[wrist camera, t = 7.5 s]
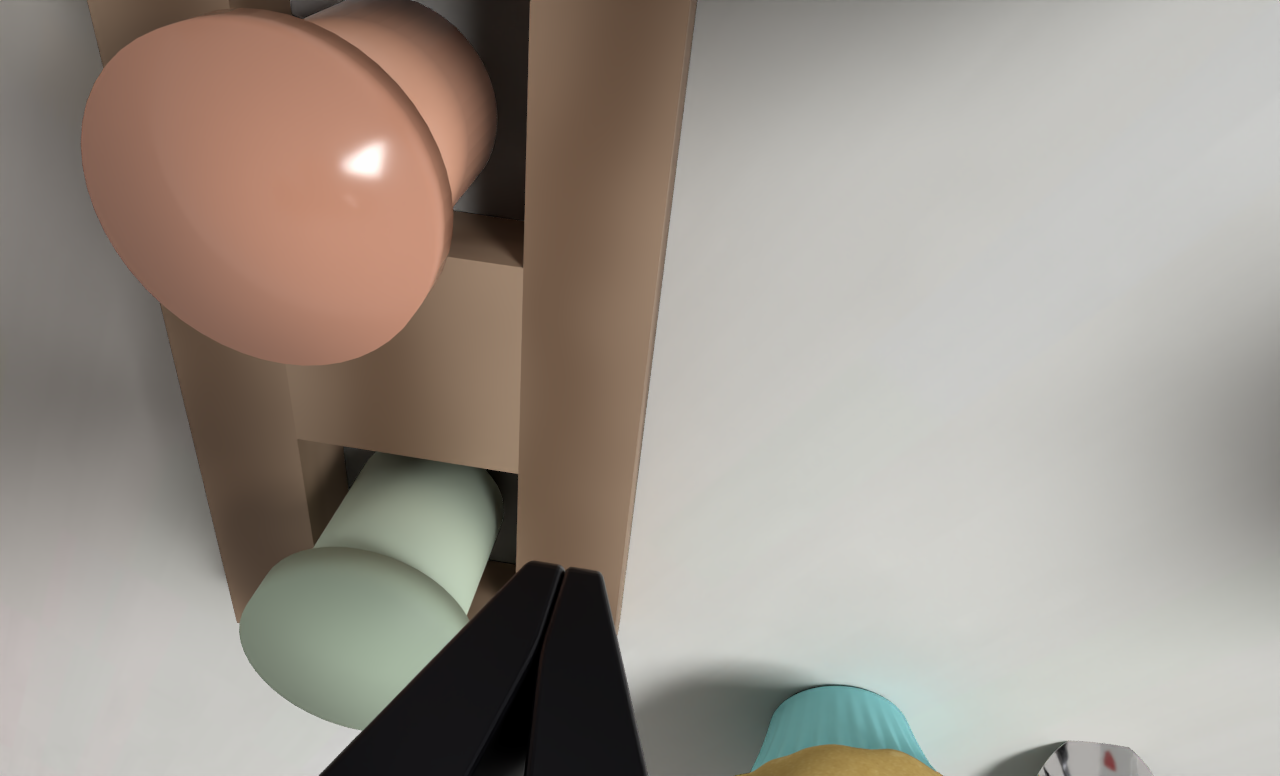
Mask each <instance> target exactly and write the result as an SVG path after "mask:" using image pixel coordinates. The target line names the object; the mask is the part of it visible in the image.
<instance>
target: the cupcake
mask: <svg viewBox="0 0 1280 776" xmlns="http://www.w3.org/2000/svg"><path fill="white" fill-rule="evenodd" d="M735 776H943V775H941V774H940V773H938V772H937V771H936V770H935V769H934V768H933V767H932V766H931V765H930V763H929V762H928V760H927V759H926V757H925V755H924V754H923V752H922V750H921V748H920V747H919V745H918V743H917V741H916V739H915V737H914V735H913V733H912V731H911V729H910V727H909V724H908V722H907V720H906V718H905V717H904V715H903V714H902V712H901V711H900V710H899V709H898V708H897V707H896V706H895V705H894V704H893V703H891V702H890V701H888V700H887V699H885V698H884V697H882V696H880V695H878V694H875V693H873V692H870V691H867V690H864V689H859V688H855V687H848V686H824V687H817V688H812V689H808V690H805V691H802V692H800V693H797V694H795V695H793V696H792V697H790V698H788V699H787V700H786V701H784V702H783V703H782V704H781V705H780V706H779V707H778V708H777V710H776V711H775V712H774V714H773V716H772V719H771V721H770V725H769V728H768V731H767V734H766V737H765V740H764V743H763V745H762V748H761V750H760V752H759V755H758V757H757V759H756V761H755V763H754V766H753V768H752V770H751V772H750V773H746V774H739V775H735Z"/></svg>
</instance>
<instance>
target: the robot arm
mask: <svg viewBox="0 0 1280 776" xmlns="http://www.w3.org/2000/svg"><path fill="white" fill-rule="evenodd" d="M319 776H648V772H647V768H646V763H645V759H644V754H643V750H642V745H641V741H640V736H639V732H638V728H637V723H636V719H635V714H634V710H633V705H632V701H631V696H630V692H629V688H628V683H627V679H626V674H625V670H624V665H623V661H622V657H621V652H620V648H619V643H618V639H617V634H616V630H615V625H614V621H613V617H612V612H611V608H610V603H609V599H608V594H607V590H606V586H605V581H604V577H603V575H602V573H601V572H599V571H596V570H590V569H584V568H578V567H569V568H567V569H566V570H564V568H563V567H562V566H561V565H559V564H553V563H547V562H541V561H535V560H532V561H529V562H527V563H526V564H525V565H524V566H523V567H522V568H521V569H520V570H519V571H518V572H517V573H516V574H515V575H514V576H513V577H512V578H511V579H510V580H509V581H508V582H507V583H506V584H505V585H504V586H503V587H502V588H501V589H500V590H499V591H498V592H497V593H496V594H495V595H494V596H493V597H492V598H491V599H490V600H489V601H488V602H487V603H486V604H485V606H484V607H483V608H482V609H481V610H480V611H479V612H478V613H477V614H476V615H475V616H474V617H473V618H472V619H471V620H470V621H469V622H468V623H467V624H466V625H465V626H464V627H463V628H462V629H461V630H460V631H459V632H458V633H457V634H456V635H455V636H454V637H453V638H452V639H451V640H450V641H449V642H448V643H447V644H446V646H445V647H444V648H443V649H442V650H441V651H440V652H439V653H438V654H437V655H436V656H435V657H434V658H433V659H432V660H431V661H430V662H429V663H428V664H427V665H426V666H425V667H424V668H423V669H422V670H421V671H420V672H419V673H418V674H417V675H416V676H415V677H414V678H413V679H412V680H411V681H410V682H409V683H408V684H407V686H406V687H405V688H404V689H403V690H402V691H401V692H400V693H399V694H398V695H397V696H396V697H395V698H394V699H393V700H392V701H391V702H390V703H389V704H388V705H387V706H386V707H385V708H384V709H383V710H382V711H381V712H380V713H379V714H378V715H377V716H376V717H375V718H374V719H373V720H372V721H371V722H370V723H369V724H368V726H367V727H366V728H365V729H364V730H363V731H362V732H361V733H360V734H359V735H358V736H357V737H356V738H355V739H354V740H353V741H352V742H351V743H350V744H349V745H348V746H347V747H346V748H345V749H344V750H343V751H342V752H341V753H340V754H339V755H338V756H337V757H336V758H335V759H334V760H333V761H332V762H331V763H330V765H329V766H328V767H327V768H326V769H325V770H324V771H323V772H322V773H321V774H320V775H319Z"/></svg>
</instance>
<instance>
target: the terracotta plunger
mask: <svg viewBox="0 0 1280 776" xmlns="http://www.w3.org/2000/svg"><path fill="white" fill-rule="evenodd" d="M497 121H498V118H497V105H496V99H495V94H494V90H493V87H492V83H491V80H490V77H489V75H488V73H487V71H486V68H485V66H484V64H483V62H482V61H481V59H480V57H479V55H478V54H477V52H476V51H475V49H474V48H473V47H472V45H471V44H470V43H469V41H468V40H467V39H466V38H465V37H464V35H463V34H462V33H461V32H460V31H459V30H458V29H457V28H456V27H455V26H454V25H452V24H451V23H450V22H449V21H448V20H446V19H445V18H444V17H442V16H441V15H439V14H438V13H436V12H435V11H433V10H432V9H430V8H428V7H426V6H424V5H422V4H420V3H418V2H415V1H412V0H345V1H343V2H340V3H338V4H336V5H334V6H331V7H329V8H327V9H324V10H322V11H320V12H317V13H315V14H313V15H310V16H308V17H306V18H304V19H301V18H298V17H295V16H292V15H289V14H285V13H280V12H275V11H270V10H265V9H252V8H232V9H221V10H215V11H211V12H207V13H203V14H199V15H196V16H193V17H190V18H187V19H184V20H181V21H178V22H176V23H173V24H170V25H167V26H164V27H161V28H158V29H156V30H154V31H152V32H149V33H147V34H145V35H143V36H141V37H138V38H137V39H135V40H134V41H132V42H131V43H130V44H128V45H127V46H125V47H124V48H122V49H121V50H120V51H119V52H118V53H117V54H116V55H115V56H114V57H113V58H112V59H111V60H110V61H109V62H108V63H107V64H106V66H105V67H104V69H103V70H102V72H101V73H100V75H99V76H98V78H97V80H96V81H95V83H94V85H93V88H92V90H91V93H90V95H89V97H88V100H87V103H86V107H85V112H84V116H83V121H82V133H81V153H82V166H83V171H84V175H85V180H86V185H87V189H88V192H89V195H90V198H91V201H92V204H93V207H94V210H95V212H96V214H97V217H98V219H99V221H100V223H101V225H102V227H103V230H104V232H105V233H106V235H107V237H108V238H109V240H110V242H111V244H112V245H113V247H114V249H115V250H116V252H117V253H118V255H119V256H120V258H121V259H122V260H123V262H124V263H125V264H126V266H127V267H128V269H129V270H130V271H131V272H132V274H133V275H134V276H135V277H136V278H137V279H138V280H139V282H140V283H141V284H142V285H143V286H144V287H145V288H146V290H148V291H149V292H150V293H151V294H152V295H153V296H154V297H155V298H156V299H157V300H158V301H159V302H160V303H161V304H162V305H163V306H164V307H166V308H167V309H168V310H169V311H171V312H172V313H173V314H174V315H176V316H177V317H178V318H179V319H181V320H182V321H183V322H185V323H186V324H188V325H189V326H191V327H192V328H194V329H195V330H197V331H198V332H200V333H202V334H203V335H205V336H207V337H209V338H211V339H213V340H215V341H216V342H218V343H220V344H222V345H224V346H227V347H229V348H231V349H234V350H236V351H238V352H241V353H244V354H247V355H250V356H253V357H256V358H259V359H263V360H267V361H272V362H277V363H282V364H291V365H301V366H310V365H328V364H335V363H341V362H345V361H348V360H352V359H355V358H359V357H361V356H363V355H365V354H368V353H370V352H372V351H374V350H376V349H378V348H379V347H381V346H382V345H384V344H385V343H387V342H388V341H390V340H391V339H392V338H393V337H394V336H395V335H396V334H398V333H399V332H400V331H401V330H402V329H403V328H404V327H405V325H406V324H407V323H408V322H409V320H410V319H411V318H412V316H413V315H414V314H415V313H416V311H417V310H418V308H419V307H420V306H421V304H422V303H423V301H424V300H425V299H426V297H427V296H428V294H429V293H430V292H431V290H432V289H433V287H434V286H435V284H436V282H437V280H438V279H439V277H440V275H441V273H442V271H443V269H444V266H445V263H446V260H447V257H448V255H449V250H450V245H451V240H452V235H453V214H454V213H453V207H454V205H455V204H456V203H457V202H458V201H459V199H460V198H461V197H462V196H463V194H464V193H465V192H466V191H467V189H468V188H469V187H470V186H471V185H472V183H473V182H474V181H475V180H476V178H477V177H478V176H479V174H480V173H481V172H482V170H483V169H484V168H485V166H486V164H487V162H488V160H489V158H490V156H491V153H492V150H493V147H494V144H495V139H496V134H497Z"/></svg>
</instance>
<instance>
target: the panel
mask: <svg viewBox="0 0 1280 776" xmlns="http://www.w3.org/2000/svg"><path fill="white" fill-rule="evenodd" d="M87 2H88V6H89V10H90V15H91V19H92V23H93V27H94V31H95V35H96V39H97V44H98V48H99V52H100V56H101V60H102V64H103V68H104V67H105V66H106V64H107V63H108V62H109V61H110V60H111V59H112V58H113V57H114V56H115V55H116V54H117V53H118V52H119V51H120V50H121V49H122V48H124V47H125V46H127V45H128V44H130V43H131V42H132V41H134V40H135V39H137V38H138V37H141V36H143V35H145V34H147V33H149V32H152V31H154V30H156V29H158V28H161V27H164V26H167V25H170V24H173V23H176V22H178V21H181V20H184V19H187V18H190V17H193V16H196V15H199V14H203V13H207V12H211V11H215V10H221V9H232V8H252V9H265V10H270V11H275V12H280V13H285V14H289V15H292V13H291V5H290V0H87ZM696 6H697V0H530V16H529V57H528V98H527V139H526V179H525V220H524V221H521V220H514V219H507V218H500V217H493V216H486V215H479V214H472V213H465V212H458V211H453V213H454V214H453V235H452V240H451V245H450V250H449V255H448V257H447V260H446V263H445V266H444V269H443V271H442V273H441V275H440V277H439V279H438V280H437V282H436V284H435V286H434V287H433V289H432V290H431V292H430V293H429V294H428V296H427V297H426V299H425V300H424V301H423V303H422V304H421V306H420V307H419V308H418V310H417V311H416V313H415V314H414V315H413V316H412V318H411V319H410V320H409V322H408V323H407V324H406V325H405V327H404V328H403V329H402V330H401V331H400V332H399V333H398V334H396V335H395V336H394V337H393V338H392V339H391V340H390V341H388V342H387V343H385V344H384V345H382V346H381V347H379V348H378V349H376V350H374V351H372V352H370V353H368V354H365V355H363V356H361V357H359V358H355V359H352V360H348V361H345V362H341V363H335V364H328V365H310V366H301V365H291V364H282V363H277V362H272V361H267V360H263V359H259V358H256V357H253V356H250V355H247V354H244V353H241V352H238V351H236V350H234V349H231V348H229V347H227V346H224V345H222V344H220V343H218V342H216V341H215V340H213V339H211V338H209V337H207V336H205V335H203V334H202V333H200V332H198V331H197V330H195V329H194V328H192V327H191V326H189V325H188V324H186V323H185V322H183V321H182V320H181V319H179V318H178V317H177V316H176V315H174V314H173V313H172V312H171V311H169V310H168V309H167V308H166V307H164V306H163V305H162V304H161V303H160V305H161V309H162V313H163V317H164V321H165V326H166V330H167V334H168V338H169V342H170V346H171V351H172V355H173V359H174V363H175V367H176V371H177V375H178V380H179V384H180V388H181V392H182V396H183V400H184V404H185V409H186V413H187V417H188V421H189V425H190V429H191V433H192V438H193V442H194V446H195V450H196V454H197V458H198V463H199V467H200V471H201V475H202V479H203V483H204V487H205V492H206V496H207V500H208V504H209V508H210V512H211V516H212V521H213V525H214V529H215V533H216V537H217V541H218V545H219V550H220V554H221V558H222V562H223V566H224V570H225V575H226V579H227V583H228V587H229V591H230V595H231V599H232V604H233V608H234V612H235V616H236V620H237V623H240V619H241V616H242V613H243V611H244V609H245V607H246V605H247V603H248V602H249V600H250V599H251V597H252V596H253V594H254V593H255V591H256V590H257V588H258V587H259V585H260V584H261V582H262V581H263V579H264V578H265V576H266V575H267V574H268V572H269V571H270V570H271V569H272V568H273V566H275V565H276V564H277V563H278V562H280V561H281V560H283V559H284V558H286V557H288V556H290V555H292V554H295V553H297V552H300V551H303V550H308V549H313V547H314V546H315V544H316V542H317V541H318V539H319V538H320V536H321V534H322V533H323V531H324V530H325V528H326V527H327V525H328V523H329V522H330V520H331V519H332V517H333V515H334V514H335V512H336V511H337V509H338V507H339V506H340V504H341V503H342V501H343V499H344V498H345V496H346V495H347V493H348V482H347V474H346V466H345V457H344V449H343V446H345V447H352V448H358V449H364V450H371V451H377V452H383V453H389V454H396V455H402V456H408V457H415V458H421V459H427V460H433V461H440V462H446V463H452V464H459V465H465V466H471V467H478V468H484V469H490V470H496V471H503V472H509V473H515V474H518V506H517V547H516V565H515V564H509V563H503V562H497V561H491V560H488V561H487V564H486V566H485V569H484V572H483V574H482V577H481V579H480V582H479V585H478V587H477V590H476V592H475V595H474V598H473V600H472V603H471V606H470V608H469V611H468V613H467V617H468V619H469V621H470V620H471V619H472V618H473V617H474V616H475V615H476V614H477V613H478V612H479V611H480V610H481V609H482V608H483V607H484V606H485V604H486V603H487V602H488V601H489V600H490V599H491V598H492V597H493V596H494V595H495V594H496V593H497V592H498V591H499V590H500V589H501V588H502V587H503V586H504V585H505V584H506V583H507V582H508V581H509V580H510V579H511V578H512V577H513V576H514V575H515V574H516V573H517V572H518V571H519V570H520V569H521V568H522V567H523V566H524V565H525V564H526V563H527V562H529V561H532V560H535V561H541V562H547V563H553V564H559V565H561V566H562V567H563V568H564V570H566V569H567V568H569V567H578V568H584V569H590V570H596V571H599V572H601V573H602V575H603V577H604V581H605V586H606V590H607V594H608V599H609V603H610V608H611V612H612V617H613V621H614V625H615V630H616V634H618V629H619V623H620V615H621V607H622V599H623V591H624V583H625V575H626V567H627V559H628V551H629V543H630V535H631V527H632V519H633V511H634V503H635V495H636V487H637V479H638V471H639V463H640V455H641V447H642V439H643V431H644V423H645V415H646V407H647V399H648V391H649V383H650V375H651V367H652V359H653V351H654V343H655V335H656V327H657V319H658V311H659V303H660V295H661V287H662V279H663V271H664V263H665V255H666V247H667V238H668V230H669V222H670V214H671V206H672V198H673V190H674V182H675V174H676V166H677V158H678V150H679V142H680V134H681V126H682V118H683V110H684V102H685V94H686V86H687V78H688V70H689V62H690V54H691V46H692V38H693V30H694V22H695V14H696Z"/></svg>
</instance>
